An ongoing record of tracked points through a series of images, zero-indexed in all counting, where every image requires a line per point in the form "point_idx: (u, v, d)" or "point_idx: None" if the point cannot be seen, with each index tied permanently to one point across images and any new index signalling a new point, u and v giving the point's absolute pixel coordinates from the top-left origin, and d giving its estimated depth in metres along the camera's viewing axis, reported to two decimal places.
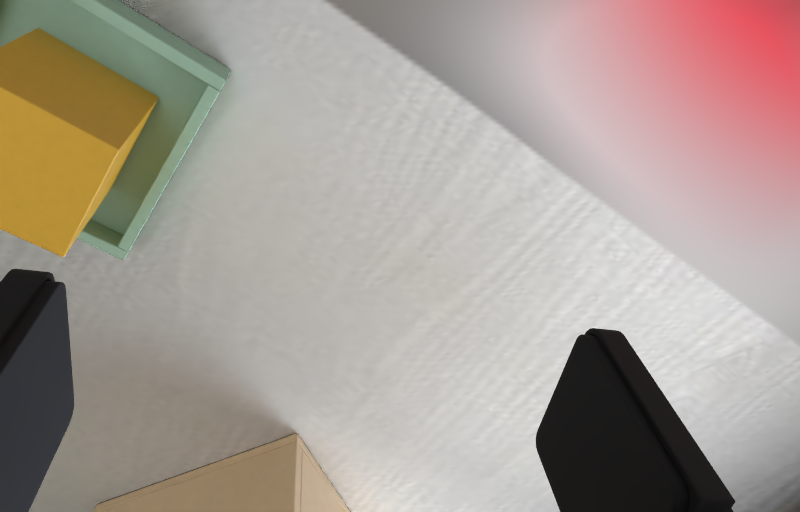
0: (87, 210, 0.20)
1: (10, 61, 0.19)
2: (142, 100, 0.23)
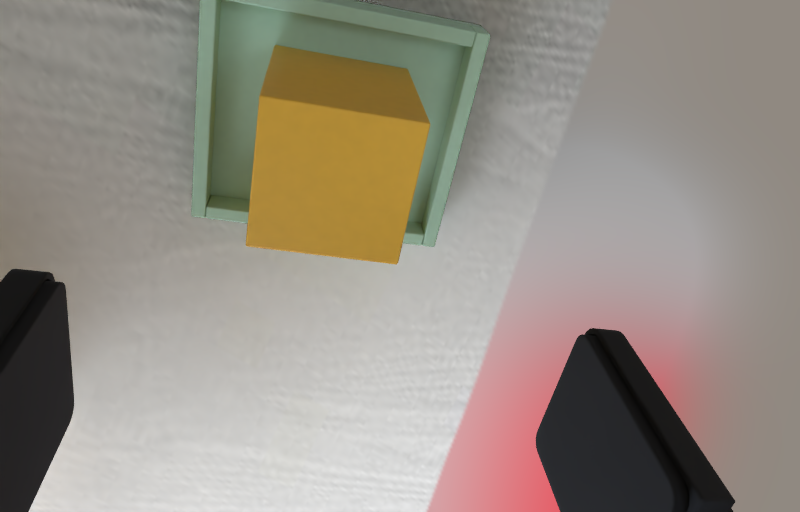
0: (316, 254, 0.18)
1: None
2: None
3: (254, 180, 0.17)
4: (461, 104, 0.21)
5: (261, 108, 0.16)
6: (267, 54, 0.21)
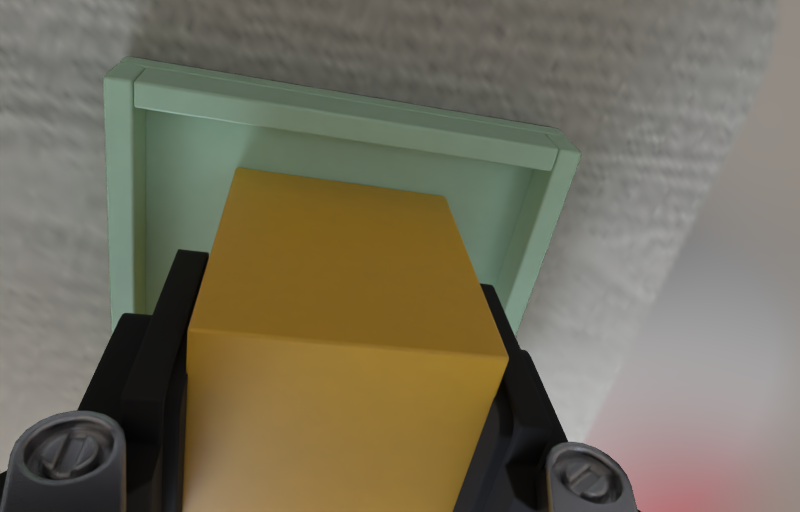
0: None
1: None
2: None
3: (188, 456, 0.09)
4: (529, 252, 0.14)
5: (192, 349, 0.08)
6: (225, 180, 0.13)
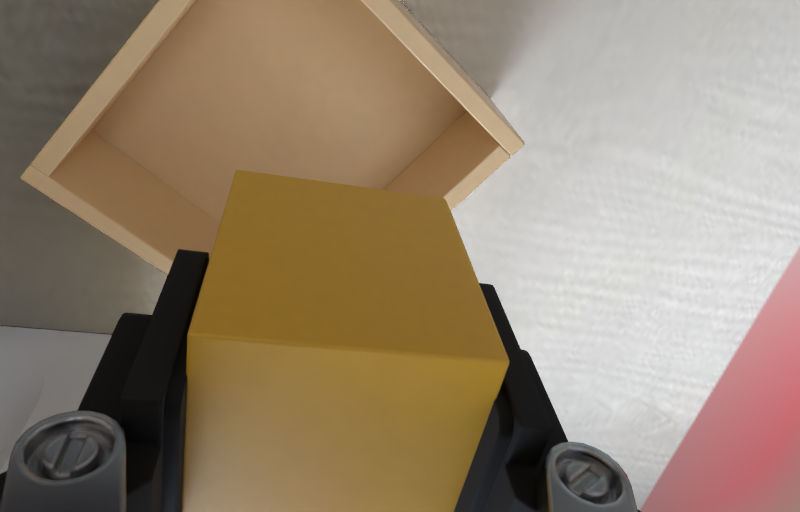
0: None
1: None
2: None
3: (188, 459, 0.09)
4: None
5: (192, 353, 0.08)
6: None
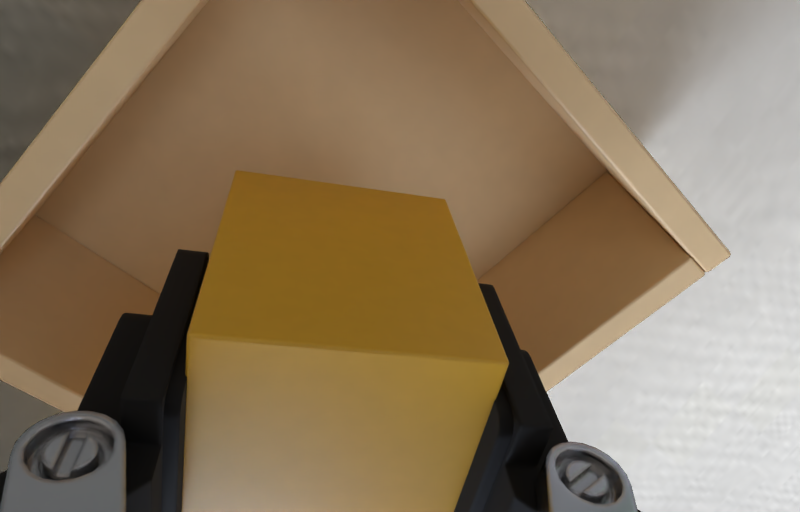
0: None
1: None
2: None
3: (187, 460, 0.09)
4: None
5: (192, 354, 0.08)
6: None
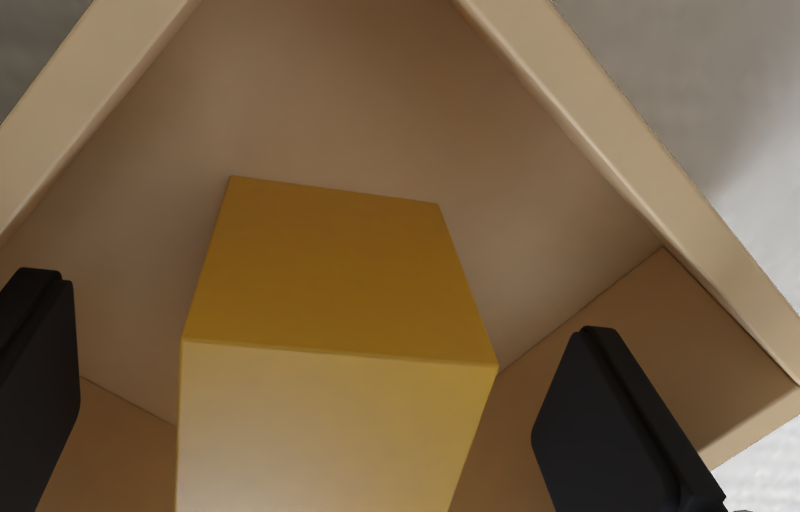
0: None
1: None
2: None
3: (181, 463, 0.09)
4: None
5: (185, 358, 0.08)
6: None
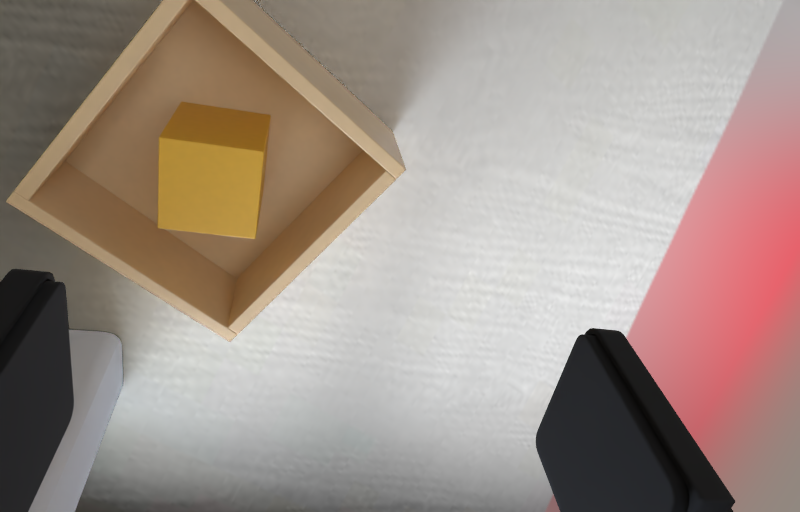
0: (202, 232, 0.30)
1: (265, 149, 0.30)
2: (262, 195, 0.34)
3: (159, 187, 0.28)
4: None
5: (160, 144, 0.27)
6: None
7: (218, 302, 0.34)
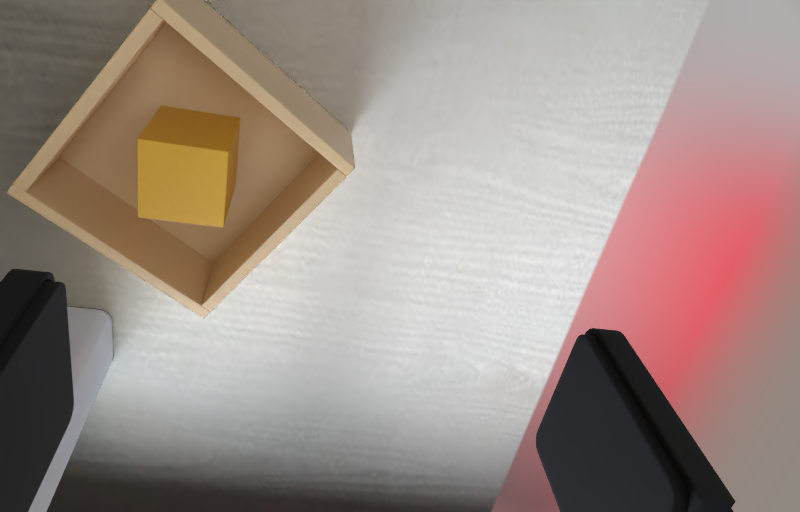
0: (177, 221, 0.34)
1: (232, 149, 0.34)
2: (233, 188, 0.38)
3: (139, 181, 0.32)
4: None
5: (138, 145, 0.32)
6: None
7: (194, 283, 0.38)
